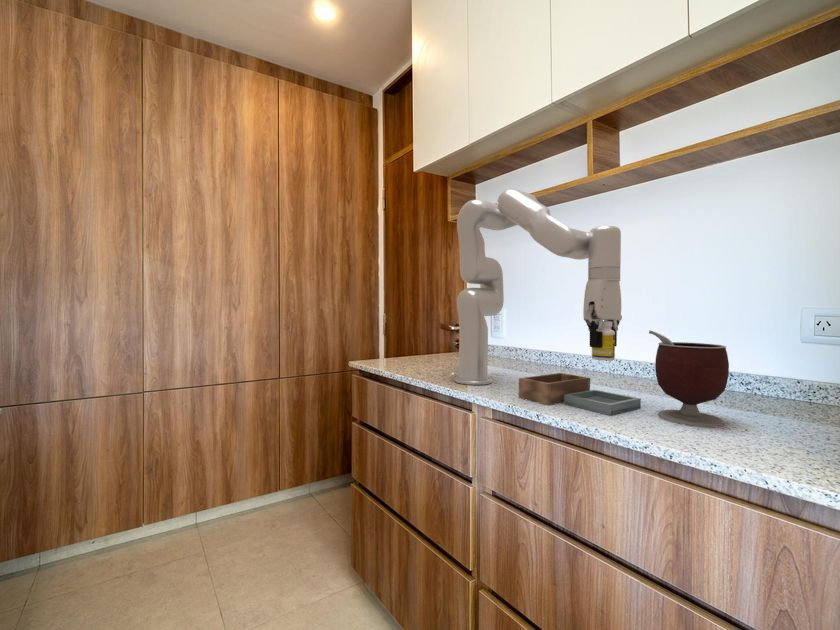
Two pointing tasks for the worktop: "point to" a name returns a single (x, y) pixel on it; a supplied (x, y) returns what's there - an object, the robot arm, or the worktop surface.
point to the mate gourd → (691, 378)
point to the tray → (602, 402)
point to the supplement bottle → (605, 343)
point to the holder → (551, 387)
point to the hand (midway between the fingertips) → (603, 346)
